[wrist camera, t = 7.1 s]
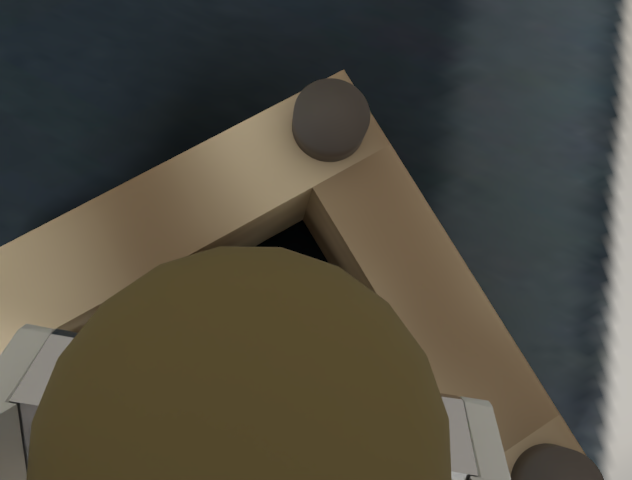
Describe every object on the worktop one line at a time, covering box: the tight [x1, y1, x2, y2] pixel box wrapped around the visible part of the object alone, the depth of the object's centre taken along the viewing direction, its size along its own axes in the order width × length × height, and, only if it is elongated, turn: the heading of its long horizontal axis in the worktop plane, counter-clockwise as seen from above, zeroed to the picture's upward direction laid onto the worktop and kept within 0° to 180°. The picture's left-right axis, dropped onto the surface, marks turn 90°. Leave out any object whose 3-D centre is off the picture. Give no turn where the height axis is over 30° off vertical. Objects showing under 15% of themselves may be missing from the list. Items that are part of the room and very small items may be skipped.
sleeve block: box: [0, 70, 604, 480], centre depth 15 cm, size 12×12×4 cm
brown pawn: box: [27, 246, 452, 480], centre depth 12 cm, size 6×6×11 cm
